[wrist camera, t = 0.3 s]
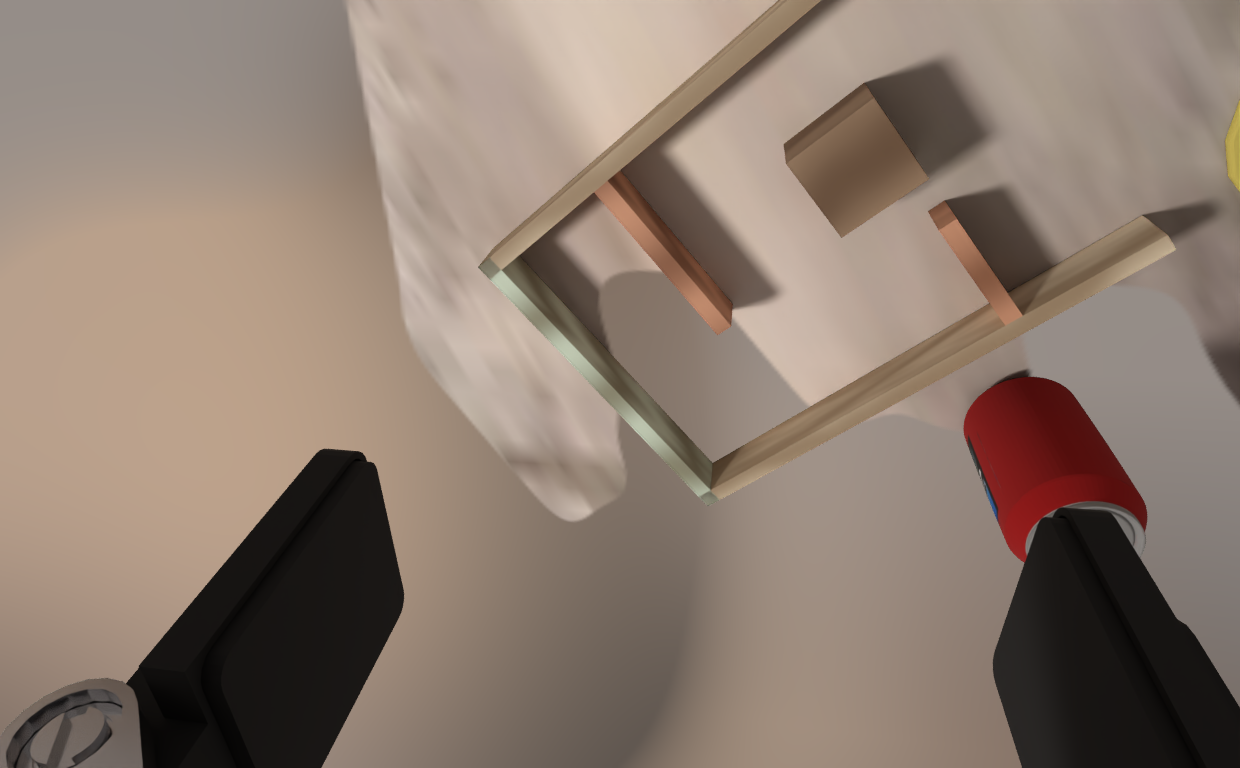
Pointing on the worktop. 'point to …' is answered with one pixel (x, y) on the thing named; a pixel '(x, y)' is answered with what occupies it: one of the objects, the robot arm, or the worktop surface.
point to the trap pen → (632, 402)
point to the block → (853, 161)
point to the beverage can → (1046, 461)
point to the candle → (1234, 149)
